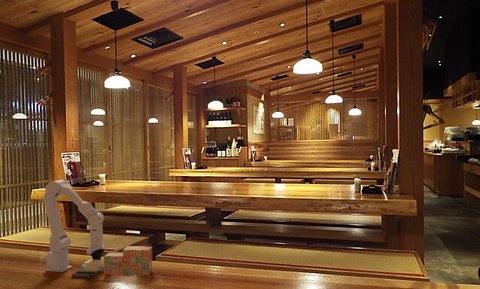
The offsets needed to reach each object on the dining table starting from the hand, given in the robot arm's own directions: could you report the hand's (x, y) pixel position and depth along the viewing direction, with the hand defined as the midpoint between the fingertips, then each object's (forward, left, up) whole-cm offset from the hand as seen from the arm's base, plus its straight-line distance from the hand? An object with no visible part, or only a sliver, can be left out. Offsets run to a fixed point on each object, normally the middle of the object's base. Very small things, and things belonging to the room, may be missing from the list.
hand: (97, 264), depth 188 cm
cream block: (0, -4, -2) cm, 4 cm away
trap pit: (0, -11, -2) cm, 11 cm away
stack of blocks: (+19, -4, -2) cm, 19 cm away
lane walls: (0, +1, -2) cm, 2 cm away
